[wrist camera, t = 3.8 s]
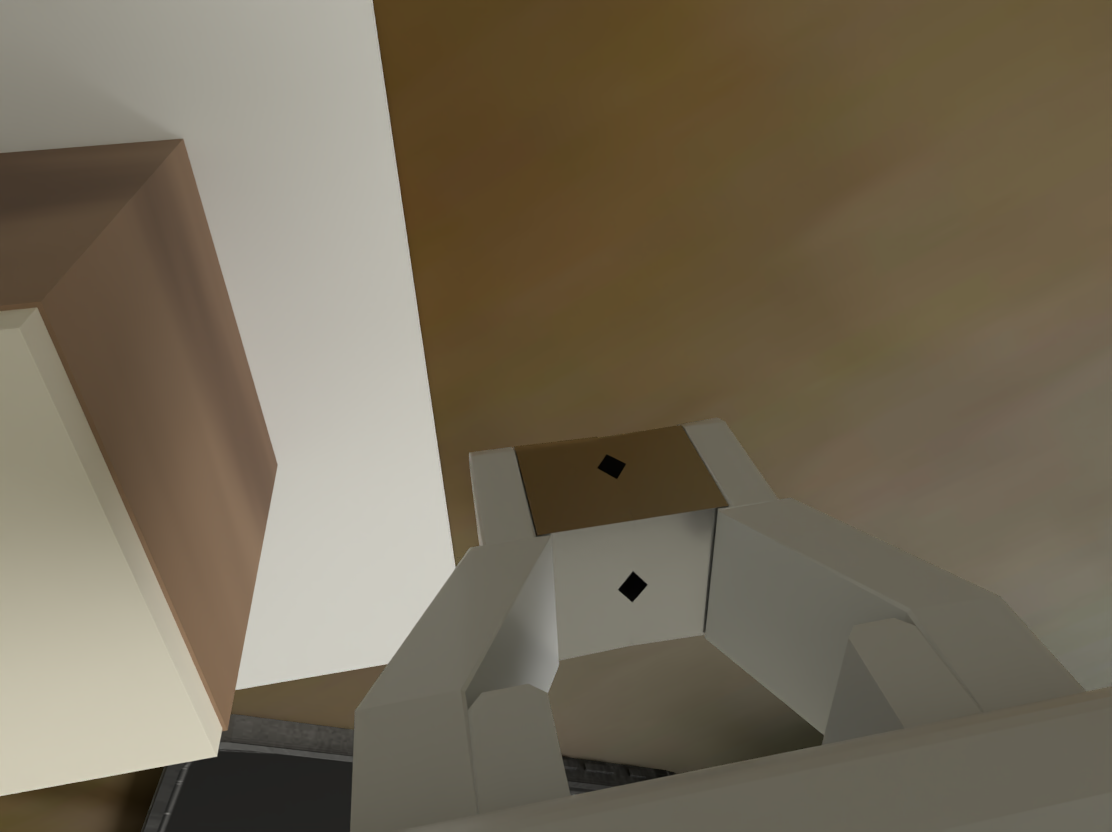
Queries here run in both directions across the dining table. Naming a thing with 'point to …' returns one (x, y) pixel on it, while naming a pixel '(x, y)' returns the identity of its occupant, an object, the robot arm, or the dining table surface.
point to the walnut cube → (120, 468)
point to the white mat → (279, 281)
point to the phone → (297, 781)
